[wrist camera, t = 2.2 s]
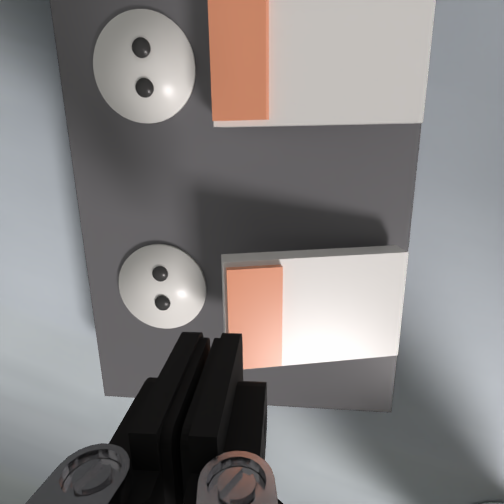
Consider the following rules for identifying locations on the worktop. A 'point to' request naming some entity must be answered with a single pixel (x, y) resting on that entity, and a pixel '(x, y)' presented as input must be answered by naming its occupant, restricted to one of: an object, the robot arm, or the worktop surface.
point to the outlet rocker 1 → (319, 61)
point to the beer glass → (493, 503)
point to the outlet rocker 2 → (315, 304)
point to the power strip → (208, 195)
